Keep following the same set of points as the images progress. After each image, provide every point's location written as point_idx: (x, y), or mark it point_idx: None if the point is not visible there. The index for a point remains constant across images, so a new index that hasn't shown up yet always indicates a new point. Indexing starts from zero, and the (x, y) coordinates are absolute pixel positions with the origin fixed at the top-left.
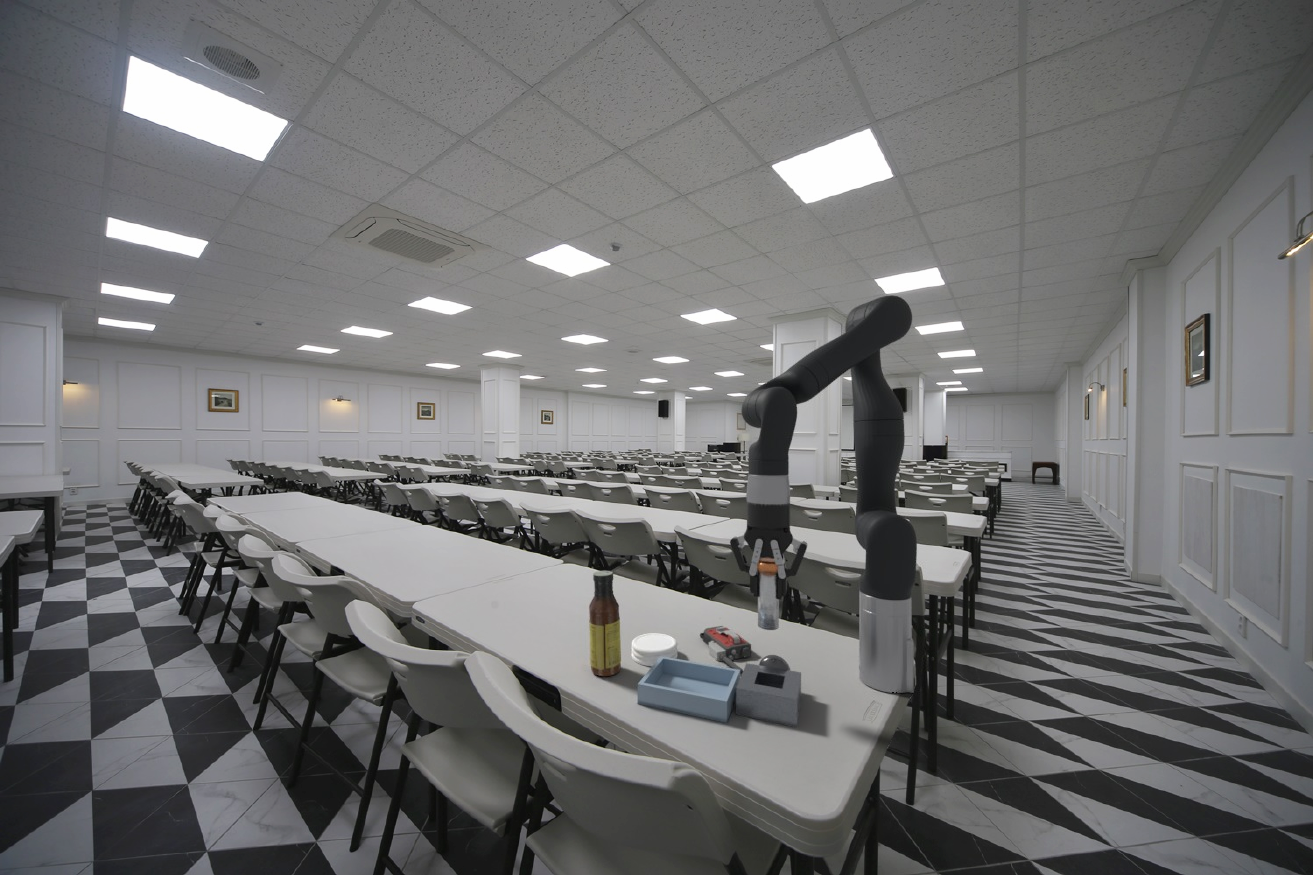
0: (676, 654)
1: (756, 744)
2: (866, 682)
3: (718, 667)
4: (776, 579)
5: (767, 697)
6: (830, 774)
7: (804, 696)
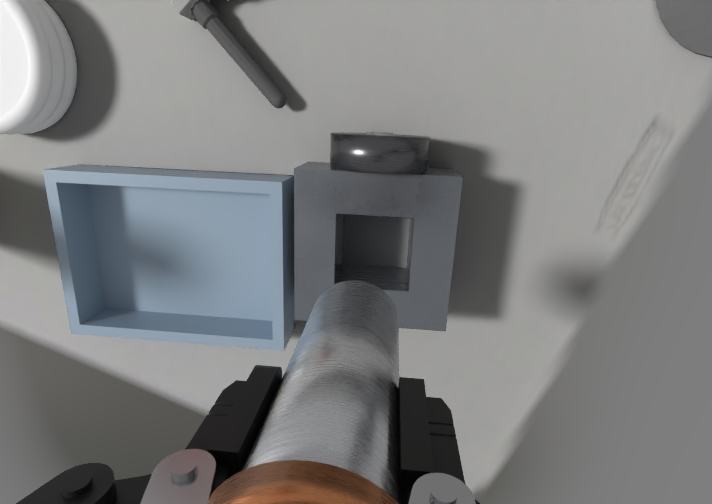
0: (64, 45)
1: None
2: (668, 23)
3: (220, 187)
4: None
5: None
6: (491, 419)
7: (462, 160)
